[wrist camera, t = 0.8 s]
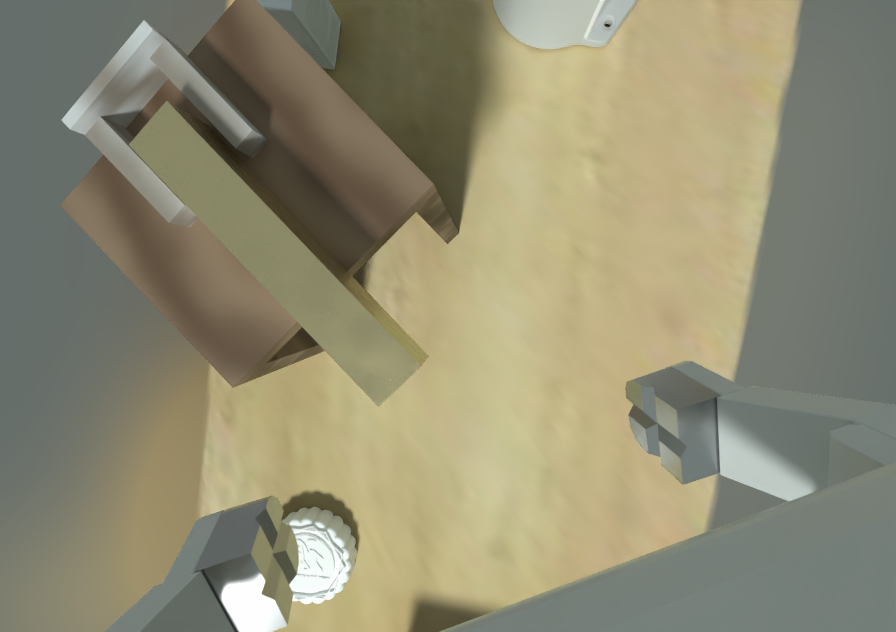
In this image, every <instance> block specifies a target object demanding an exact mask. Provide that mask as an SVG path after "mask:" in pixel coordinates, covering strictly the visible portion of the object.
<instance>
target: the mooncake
mask: <svg viewBox="0 0 896 632" xmlns="http://www.w3.org/2000/svg"><path fill="white" fill-rule="evenodd" d="M281 522H283V523H285V524H287V525H289V526H290V527H291V528H292V530H293V532H294V534H295V537H296V541H297V545H298V554H299V565H298V571H297V575H296V576H295V578H294V579H293V580H292V581H291V583H290V584H289V586H290V588H291V590H292V592H293V598H292V601H301V602H302V603H303V604H310V603H311V602H314V603H316V604H319V603H322V602H323V601H324V600H325V599H326V600H330V599H332V598H333V597H334V596H335V594H336V593H338V592H340V591H342V589H343V588H344V586H345V584H346V582H347V581H348V579H349V577H350V575H351V573H352V571H353V569H354V567H355V558H356V556H357V550H356V548H355V547H354V546H355V544H356V540H355V538H354V536H352V535H351V529H350V527H349V526H348V525H346V524H343V520H342V518H341V517H339V516H336V515H335V516H333V513H332V512H331V511H329V510H321V509H320V508H318V507H312V508H311V509H310V510H309V509H308V508H301V509H299V510H298V512H291V513H290V514H289V515H288V516H287V517H286V518H285V519H283V520H282V521H281Z"/></svg>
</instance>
